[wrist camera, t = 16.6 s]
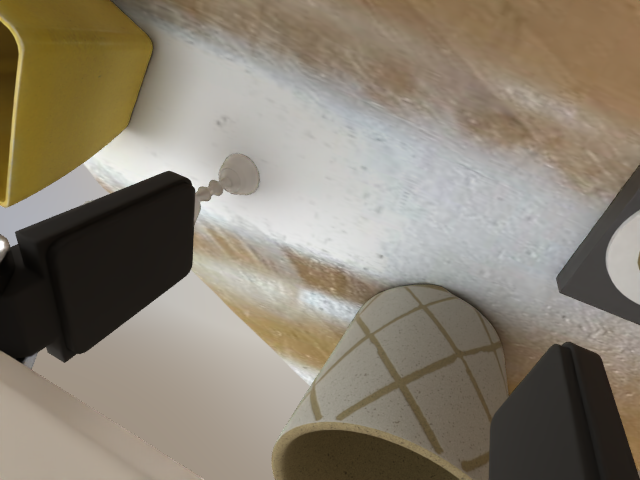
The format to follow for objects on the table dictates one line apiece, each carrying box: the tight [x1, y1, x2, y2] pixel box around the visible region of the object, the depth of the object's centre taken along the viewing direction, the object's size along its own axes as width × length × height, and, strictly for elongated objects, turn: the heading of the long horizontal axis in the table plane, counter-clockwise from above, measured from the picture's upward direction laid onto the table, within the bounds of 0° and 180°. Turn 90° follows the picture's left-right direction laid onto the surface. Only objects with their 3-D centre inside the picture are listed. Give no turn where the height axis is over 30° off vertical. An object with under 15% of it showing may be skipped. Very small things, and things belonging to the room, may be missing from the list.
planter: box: [272, 284, 509, 480], centre depth 36 cm, size 19×19×20 cm
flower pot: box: [0, 0, 153, 208], centre depth 38 cm, size 19×19×17 cm
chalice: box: [83, 153, 260, 225], centre depth 37 cm, size 7×7×18 cm
